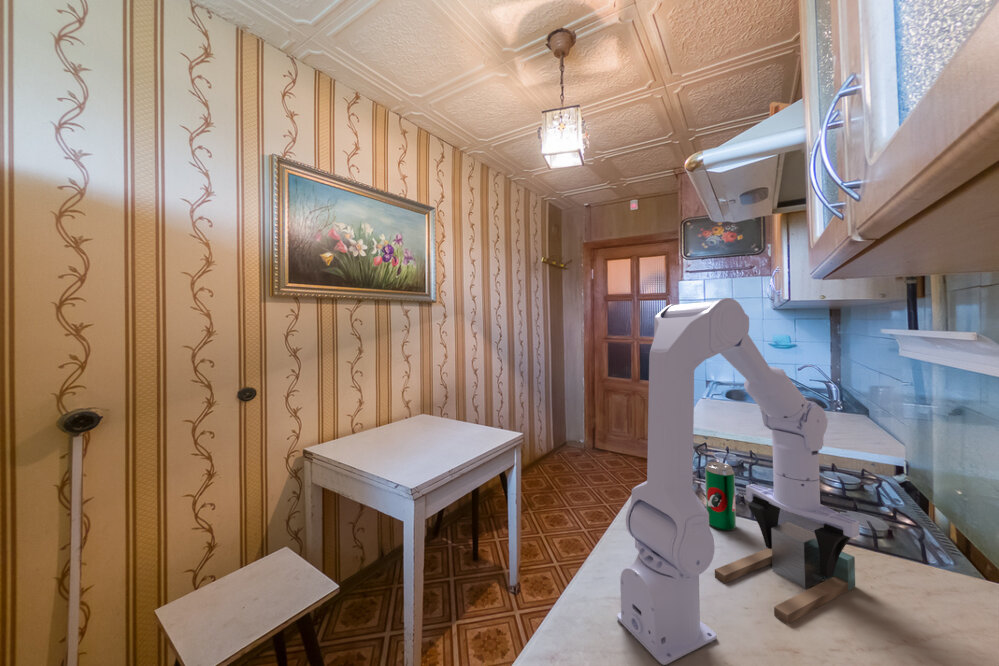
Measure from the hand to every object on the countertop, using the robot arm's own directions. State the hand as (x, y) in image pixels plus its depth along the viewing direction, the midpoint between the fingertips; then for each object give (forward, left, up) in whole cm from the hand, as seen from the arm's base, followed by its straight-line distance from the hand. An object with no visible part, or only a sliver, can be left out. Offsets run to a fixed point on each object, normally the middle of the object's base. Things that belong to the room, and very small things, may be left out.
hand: (797, 559), depth 57 cm
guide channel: (-5, 0, -2) cm, 5 cm away
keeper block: (0, 0, -2) cm, 3 cm away
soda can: (+3, +15, -3) cm, 16 cm away
